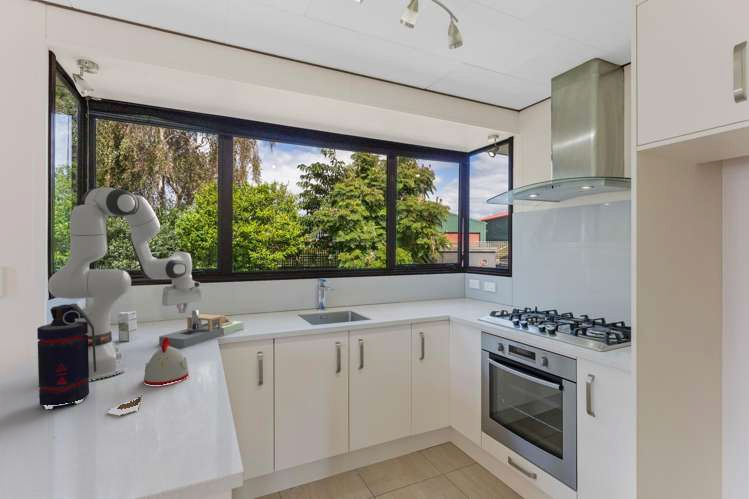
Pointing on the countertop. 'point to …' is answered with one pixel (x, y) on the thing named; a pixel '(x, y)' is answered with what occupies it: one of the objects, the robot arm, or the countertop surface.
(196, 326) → the slider
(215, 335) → the tunnel deck
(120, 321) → the syrup box
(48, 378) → the grenade
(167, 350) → the grey dome
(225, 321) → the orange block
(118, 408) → the shard
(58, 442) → the countertop surface
